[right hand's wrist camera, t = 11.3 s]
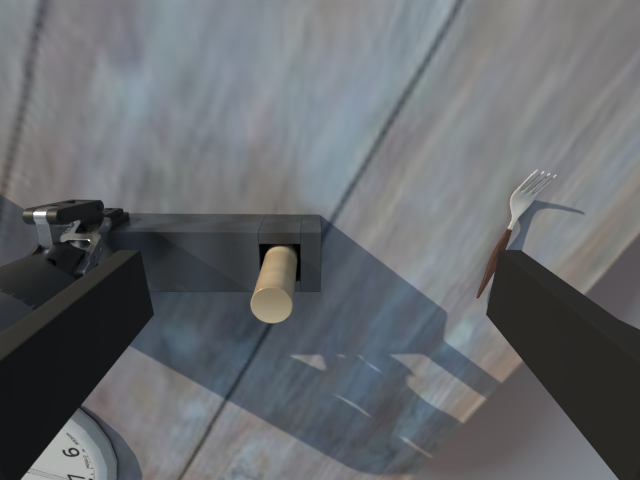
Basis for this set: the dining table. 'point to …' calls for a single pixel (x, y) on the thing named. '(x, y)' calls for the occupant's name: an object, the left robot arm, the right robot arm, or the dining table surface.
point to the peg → (276, 284)
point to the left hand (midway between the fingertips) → (125, 246)
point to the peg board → (215, 249)
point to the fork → (513, 221)
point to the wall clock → (76, 453)
